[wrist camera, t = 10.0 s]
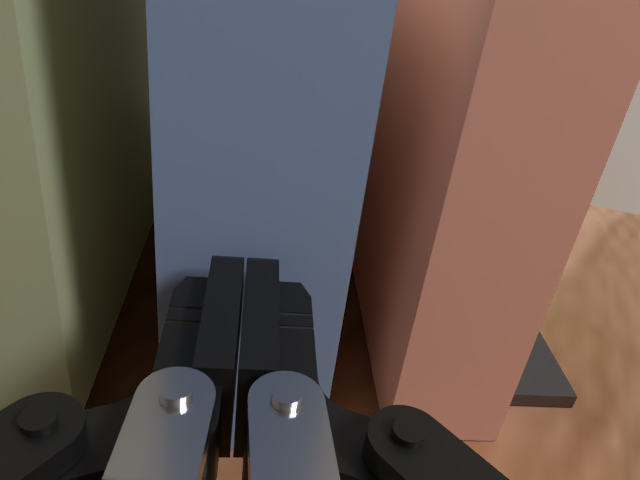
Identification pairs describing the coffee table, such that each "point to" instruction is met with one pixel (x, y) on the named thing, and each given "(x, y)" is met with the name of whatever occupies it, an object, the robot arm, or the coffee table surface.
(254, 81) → the blue book
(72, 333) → the book rack
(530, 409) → the coffee table surface
